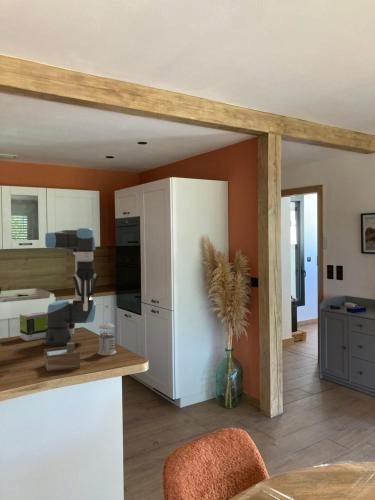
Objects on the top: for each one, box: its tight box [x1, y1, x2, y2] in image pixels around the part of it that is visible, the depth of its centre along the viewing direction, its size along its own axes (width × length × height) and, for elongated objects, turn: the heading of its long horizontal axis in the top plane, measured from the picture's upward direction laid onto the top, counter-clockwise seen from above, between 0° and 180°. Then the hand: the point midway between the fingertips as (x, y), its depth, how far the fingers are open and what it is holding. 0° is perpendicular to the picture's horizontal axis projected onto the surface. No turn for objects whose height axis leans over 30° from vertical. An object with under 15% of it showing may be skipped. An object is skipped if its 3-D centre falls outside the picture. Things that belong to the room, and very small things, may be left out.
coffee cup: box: [69, 323, 76, 336], centre depth 256 cm, size 10×10×15 cm
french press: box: [97, 304, 117, 356], centre depth 215 cm, size 10×12×25 cm
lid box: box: [43, 346, 81, 373], centre depth 192 cm, size 12×14×8 cm
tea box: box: [19, 310, 48, 342], centre depth 247 cm, size 15×10×15 cm
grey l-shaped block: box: [47, 341, 76, 356], centre depth 192 cm, size 10×12×6 cm
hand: (85, 310), depth 196 cm, fingers closed
